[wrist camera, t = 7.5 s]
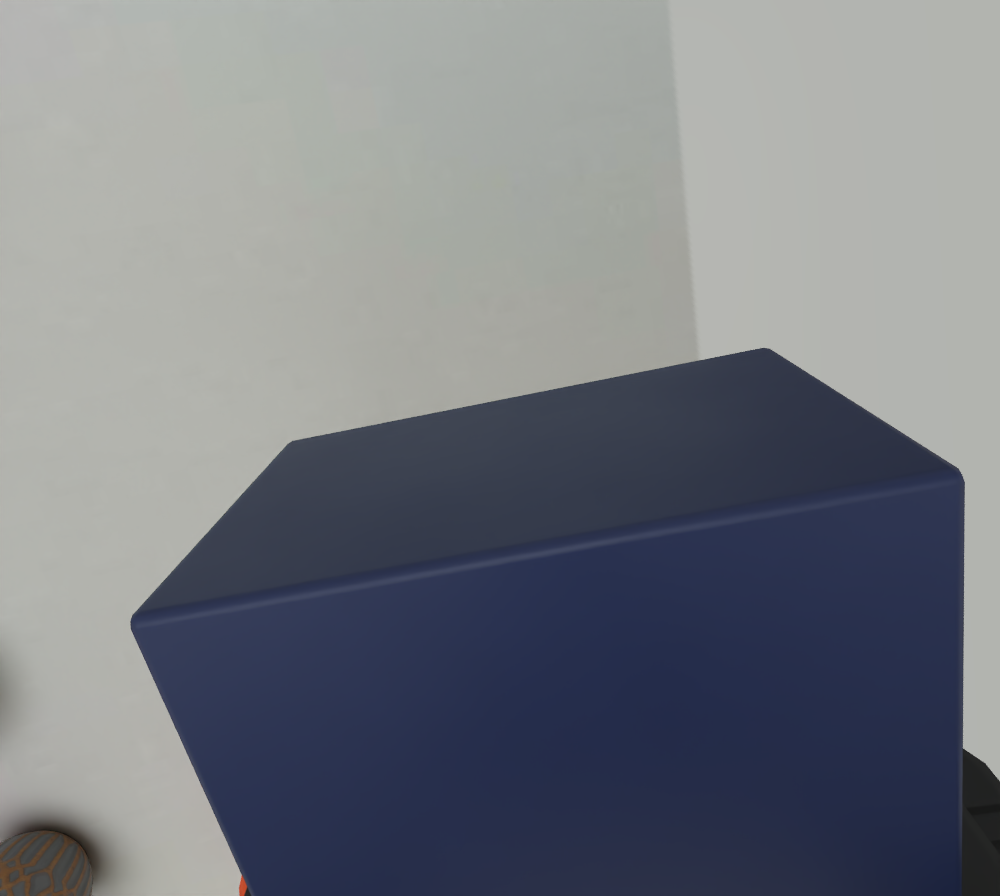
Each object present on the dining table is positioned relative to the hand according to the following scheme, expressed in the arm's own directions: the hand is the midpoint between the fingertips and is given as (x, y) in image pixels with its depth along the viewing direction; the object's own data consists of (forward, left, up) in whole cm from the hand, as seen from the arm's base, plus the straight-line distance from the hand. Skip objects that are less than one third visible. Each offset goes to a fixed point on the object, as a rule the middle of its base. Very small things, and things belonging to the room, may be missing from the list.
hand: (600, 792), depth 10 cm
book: (0, 0, -1) cm, 1 cm away
